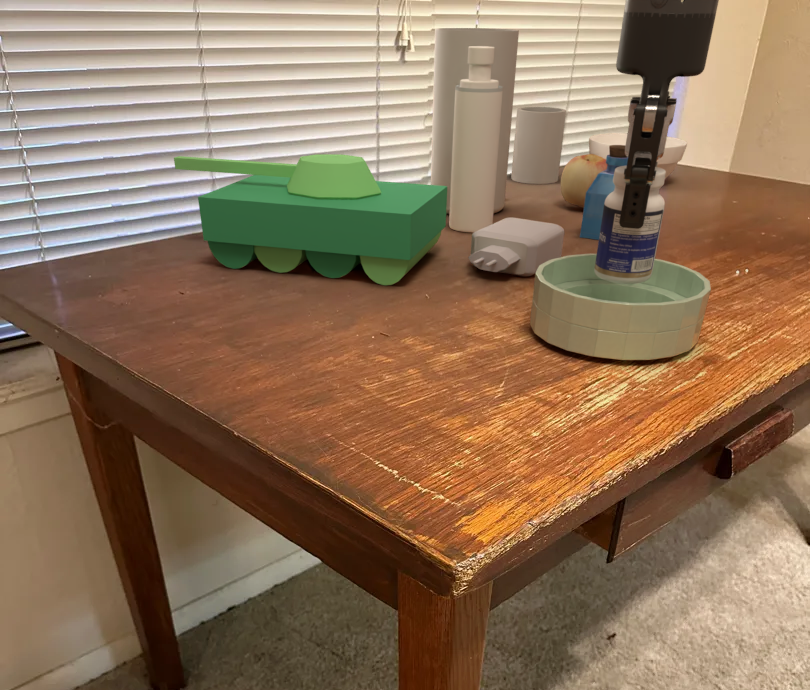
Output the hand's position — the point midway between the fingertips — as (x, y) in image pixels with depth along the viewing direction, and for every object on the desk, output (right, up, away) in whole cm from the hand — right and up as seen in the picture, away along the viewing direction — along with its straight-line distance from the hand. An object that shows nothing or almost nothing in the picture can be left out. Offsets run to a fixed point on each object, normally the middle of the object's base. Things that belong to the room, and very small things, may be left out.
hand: (632, 219), depth 73 cm
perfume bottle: (+8, +15, +40) cm, 44 cm away
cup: (+3, +40, +75) cm, 85 cm away
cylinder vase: (-12, +25, +54) cm, 61 cm away
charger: (-9, +4, +25) cm, 27 cm away
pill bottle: (0, -5, +3) cm, 6 cm away
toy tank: (-36, +7, +29) cm, 47 cm away
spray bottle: (-12, +17, +43) cm, 48 cm away
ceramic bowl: (0, -9, +7) cm, 12 cm away
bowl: (+22, +39, +75) cm, 87 cm away
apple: (+8, +25, +55) cm, 61 cm away
